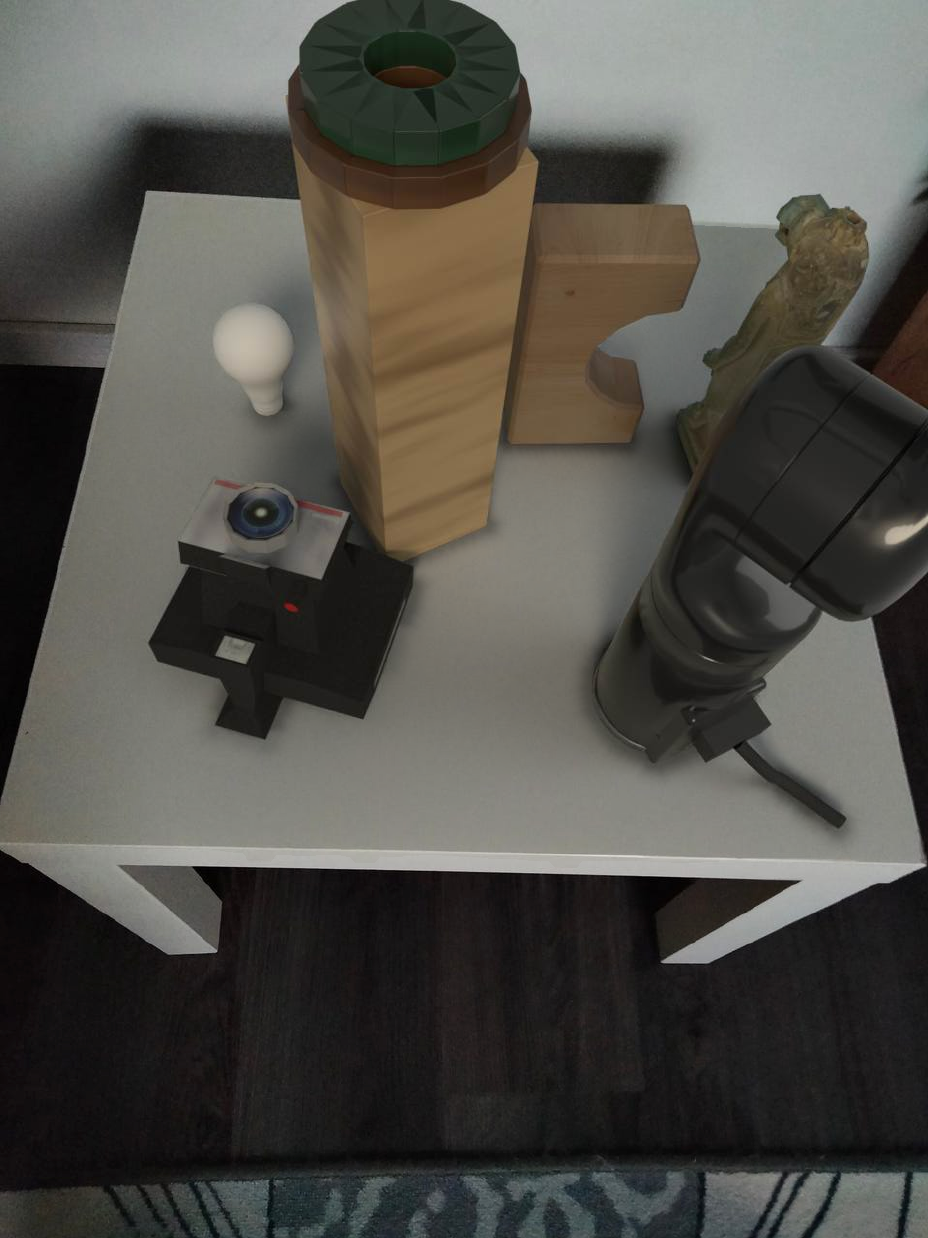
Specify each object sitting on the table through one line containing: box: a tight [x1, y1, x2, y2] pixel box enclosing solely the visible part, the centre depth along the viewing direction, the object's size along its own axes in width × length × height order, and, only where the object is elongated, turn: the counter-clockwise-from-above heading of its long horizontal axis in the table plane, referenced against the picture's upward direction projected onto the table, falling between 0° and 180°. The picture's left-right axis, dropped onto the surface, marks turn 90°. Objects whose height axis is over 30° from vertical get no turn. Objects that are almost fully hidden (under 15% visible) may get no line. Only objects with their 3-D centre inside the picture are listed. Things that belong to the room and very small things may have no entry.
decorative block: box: [503, 202, 702, 445], centre depth 65 cm, size 11×6×20 cm, turn 92°
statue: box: [676, 193, 870, 475], centre depth 62 cm, size 7×8×25 cm
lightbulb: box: [212, 302, 294, 417], centre depth 68 cm, size 6×6×11 cm
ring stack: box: [285, 0, 539, 562], centre depth 53 cm, size 11×11×36 cm
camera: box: [147, 475, 414, 740], centre depth 58 cm, size 16×14×15 cm
